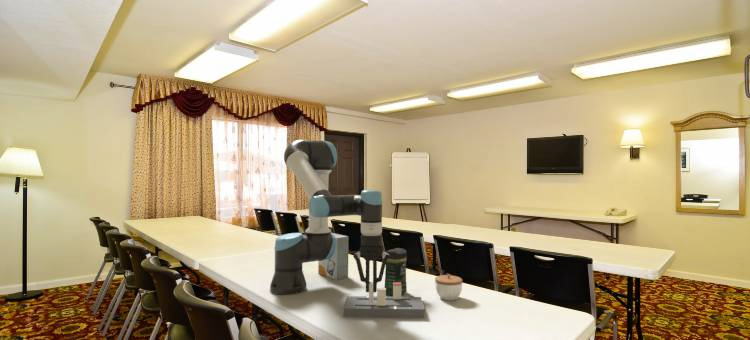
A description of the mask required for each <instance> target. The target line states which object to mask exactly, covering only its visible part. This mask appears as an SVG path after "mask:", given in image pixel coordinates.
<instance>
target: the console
mask: <svg viewBox="0 0 750 340" xmlns="http://www.w3.org/2000/svg"><path fill="white" fill-rule="evenodd" d="M425 310H426V309H425V306H424V303H423V300H422V297H421V296H401V299H393V296H386V306H377V295H376V296H374V295H373V303H369V295H366V296H365V295H364V296H362V295H361V296H360V295H357V296H356V295H349V296H348V295H346V298H345V301H344V304H343V308H342V317H343V318H370V319H371V318H373V319H374V318H379V319H380V318H386V319H425Z"/></svg>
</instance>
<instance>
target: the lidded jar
mask: <svg viewBox="0 0 750 340" xmlns="http://www.w3.org/2000/svg"><path fill="white" fill-rule="evenodd" d="M434 281H435V282H434V284H435V289H436V293H437V295H438V296H439V297H440V299H441V300H444V301H448V302H449V301H455V300H457V298H459V297H460V295H461V292H462V289H463V279H462V277H460V276H456V275H451V274H450V273H448V274H445V275H443V274H441V275H437V276H435V278H434Z"/></svg>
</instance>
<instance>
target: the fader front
mask: <svg viewBox="0 0 750 340" xmlns="http://www.w3.org/2000/svg"><path fill="white" fill-rule="evenodd" d="M376 294H377V295H376V296H377V306H386V297H387V294H386V288H384V287H377V291H376Z"/></svg>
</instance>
